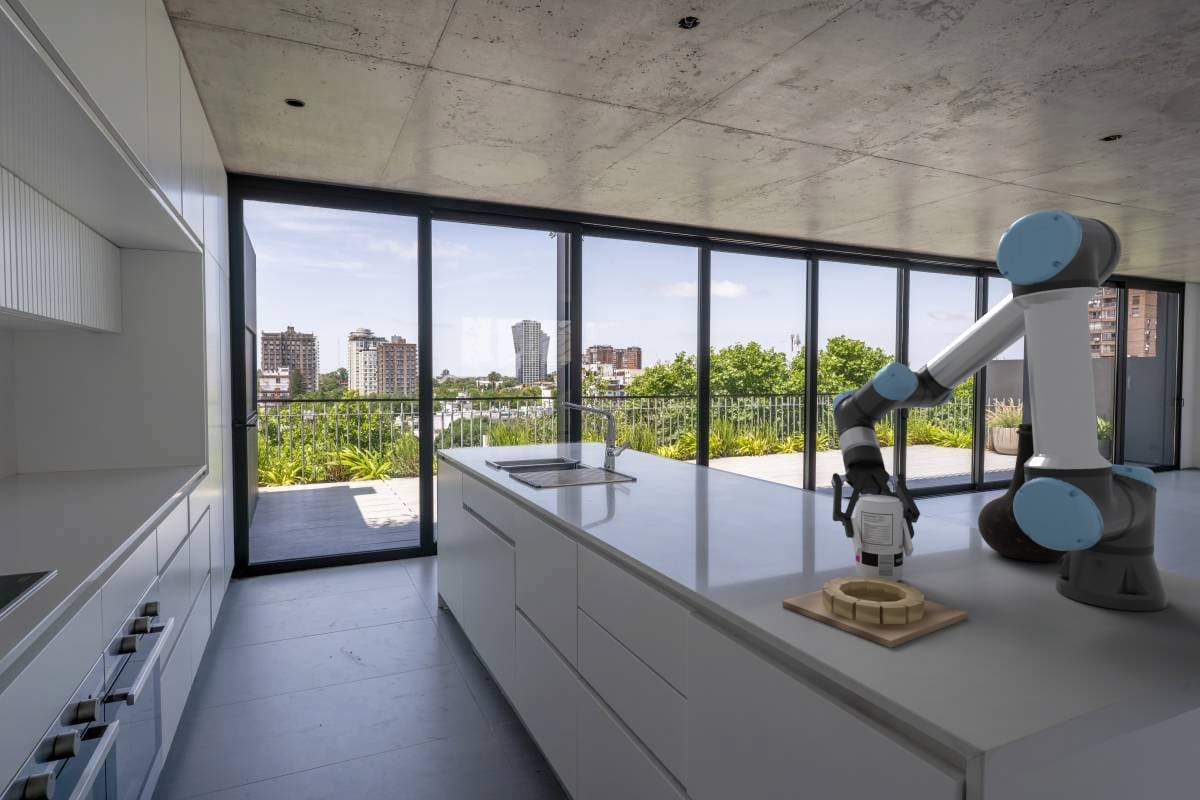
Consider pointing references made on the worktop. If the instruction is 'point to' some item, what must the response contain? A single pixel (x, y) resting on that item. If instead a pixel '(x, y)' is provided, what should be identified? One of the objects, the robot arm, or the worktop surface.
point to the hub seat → (875, 609)
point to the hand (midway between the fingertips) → (884, 552)
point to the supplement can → (880, 537)
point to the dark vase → (1000, 518)
